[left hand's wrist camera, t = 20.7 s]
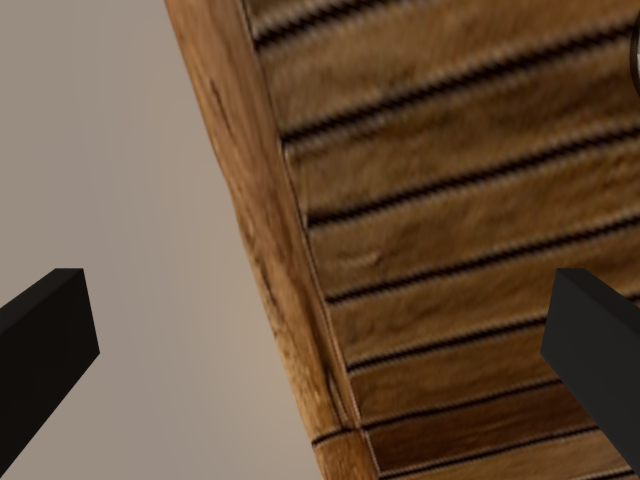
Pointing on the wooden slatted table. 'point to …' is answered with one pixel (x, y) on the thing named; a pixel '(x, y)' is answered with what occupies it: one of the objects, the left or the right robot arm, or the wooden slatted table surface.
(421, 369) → the wooden slatted table surface
